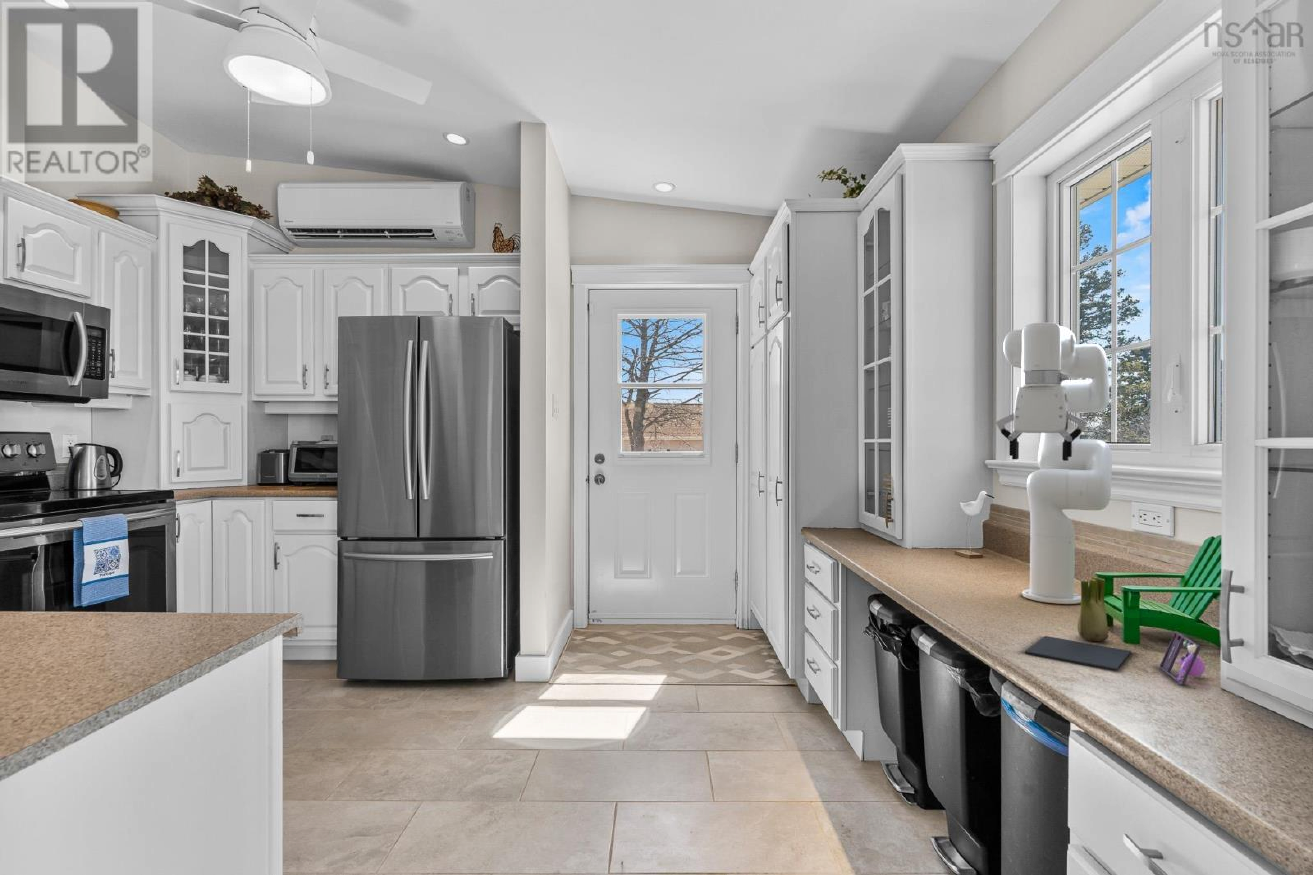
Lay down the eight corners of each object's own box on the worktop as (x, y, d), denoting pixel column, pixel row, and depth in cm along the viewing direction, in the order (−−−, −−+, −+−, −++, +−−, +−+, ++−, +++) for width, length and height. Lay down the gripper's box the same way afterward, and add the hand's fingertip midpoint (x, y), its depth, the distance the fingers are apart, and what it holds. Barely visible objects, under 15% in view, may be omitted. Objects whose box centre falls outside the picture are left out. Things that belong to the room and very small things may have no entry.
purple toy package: (1170, 629, 119) (1193, 643, 110) (1204, 642, 117) (1230, 658, 109) (1154, 665, 120) (1175, 682, 111) (1188, 678, 118) (1212, 697, 109)
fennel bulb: (1082, 642, 134) (1083, 579, 134) (1070, 635, 139) (1071, 574, 139) (1115, 644, 133) (1115, 580, 133) (1101, 637, 138) (1102, 575, 138)
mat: (1045, 637, 137) (1045, 635, 137) (1131, 653, 128) (1131, 650, 128) (1024, 653, 127) (1024, 651, 127) (1116, 671, 117) (1116, 668, 117)
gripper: (1089, 380, 150) (1088, 461, 150) (1001, 383, 161) (1000, 458, 161) (1085, 377, 144) (1084, 461, 144) (993, 380, 155) (992, 459, 155)
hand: (1039, 459), depth 152 cm, fingers open, 9 cm apart
